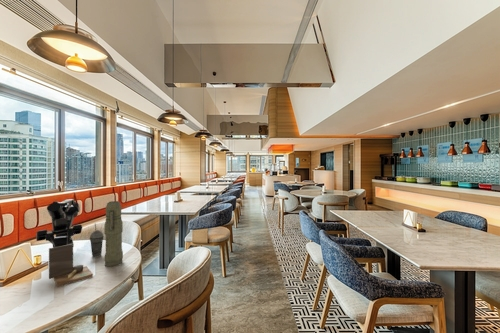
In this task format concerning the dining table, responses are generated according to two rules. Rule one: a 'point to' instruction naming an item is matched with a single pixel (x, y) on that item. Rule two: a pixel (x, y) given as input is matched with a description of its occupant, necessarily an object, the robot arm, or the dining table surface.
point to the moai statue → (113, 234)
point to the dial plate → (73, 277)
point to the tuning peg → (62, 261)
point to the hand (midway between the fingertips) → (62, 245)
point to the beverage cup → (96, 242)
